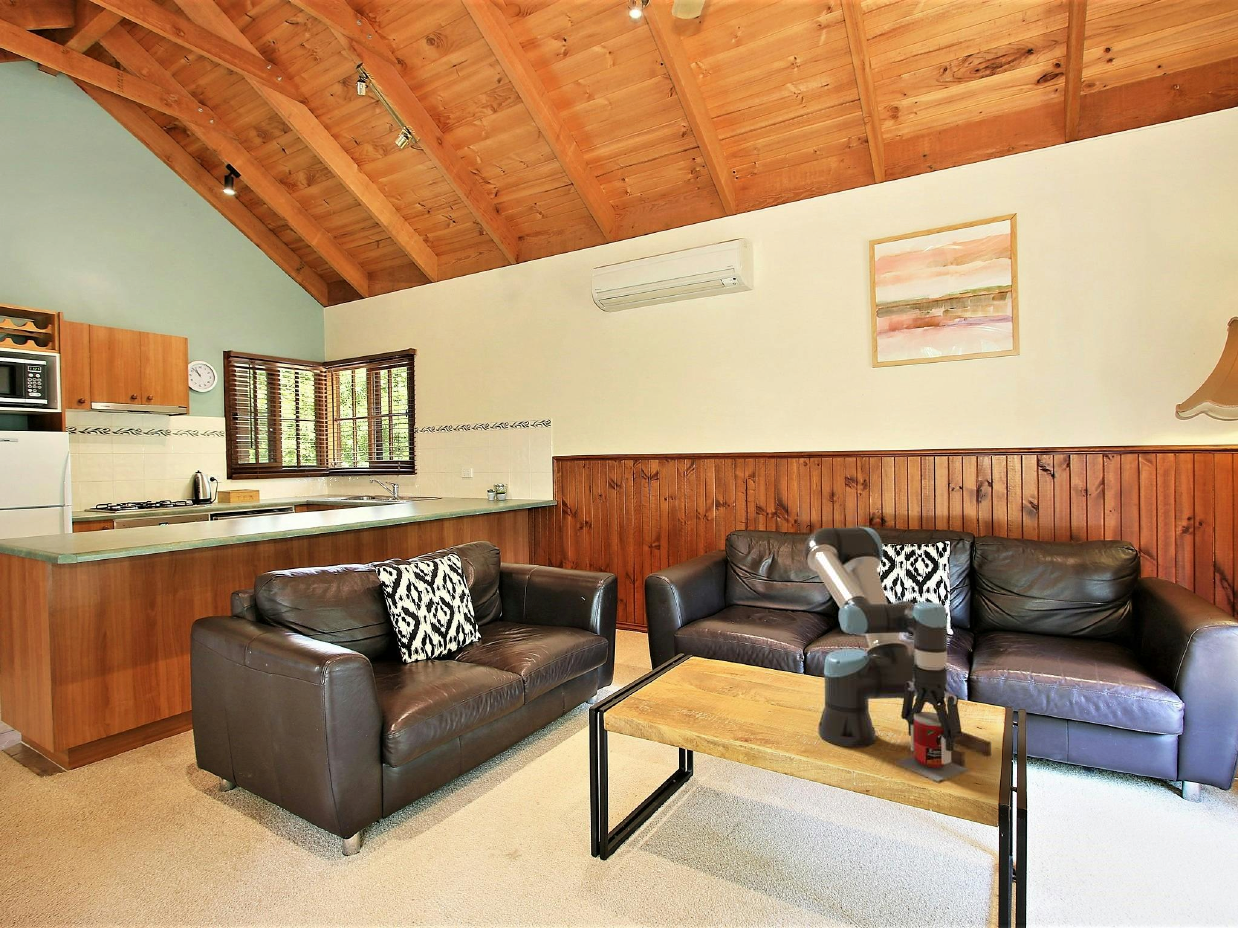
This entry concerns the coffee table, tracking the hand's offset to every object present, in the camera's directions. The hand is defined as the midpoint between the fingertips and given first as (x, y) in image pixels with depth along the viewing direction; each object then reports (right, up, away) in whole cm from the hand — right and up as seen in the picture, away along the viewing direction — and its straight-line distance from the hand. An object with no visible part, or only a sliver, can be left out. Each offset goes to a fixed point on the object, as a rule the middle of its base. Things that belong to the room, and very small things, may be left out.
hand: (930, 755), depth 170 cm
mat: (0, -3, 0) cm, 3 cm away
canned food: (0, -1, 0) cm, 1 cm away
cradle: (+10, -3, +8) cm, 13 cm away
